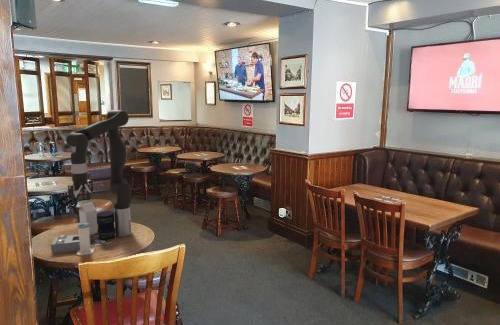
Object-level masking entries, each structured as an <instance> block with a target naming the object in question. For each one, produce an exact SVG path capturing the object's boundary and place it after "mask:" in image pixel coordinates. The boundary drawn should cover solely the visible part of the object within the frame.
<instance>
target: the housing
mask: <svg viewBox="0 0 500 325" xmlns="http://www.w3.org/2000/svg"><path fill="white" fill-rule="evenodd" d="M89 234H90V233H89ZM57 240H60V239H59V236H54V238H53V240H52V242H51V244H50V248H51V249H50V250H51V254H59V253H68V252H76V251H77V252H78V250H80V244H79V234H70V235H65V239H63V243H59V244H57ZM90 243H92V242H91V240H90Z"/></svg>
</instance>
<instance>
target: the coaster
mask: <svg viewBox="0 0 500 325" xmlns="http://www.w3.org/2000/svg"><path fill="white" fill-rule="evenodd" d="M94 252H95V248H91V251H90V252H88V253H80V250H78V251H77V252H76V256H77V255H78V256H84V255H85V254H86V255H93V254H94Z"/></svg>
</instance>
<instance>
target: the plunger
mask: <svg viewBox="0 0 500 325" xmlns="http://www.w3.org/2000/svg"><path fill="white" fill-rule="evenodd" d="M65 236H66V234H60V235H58V237H59V239H65Z"/></svg>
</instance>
